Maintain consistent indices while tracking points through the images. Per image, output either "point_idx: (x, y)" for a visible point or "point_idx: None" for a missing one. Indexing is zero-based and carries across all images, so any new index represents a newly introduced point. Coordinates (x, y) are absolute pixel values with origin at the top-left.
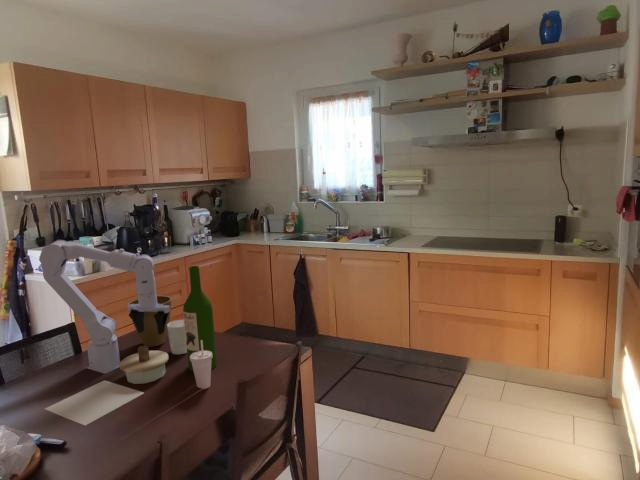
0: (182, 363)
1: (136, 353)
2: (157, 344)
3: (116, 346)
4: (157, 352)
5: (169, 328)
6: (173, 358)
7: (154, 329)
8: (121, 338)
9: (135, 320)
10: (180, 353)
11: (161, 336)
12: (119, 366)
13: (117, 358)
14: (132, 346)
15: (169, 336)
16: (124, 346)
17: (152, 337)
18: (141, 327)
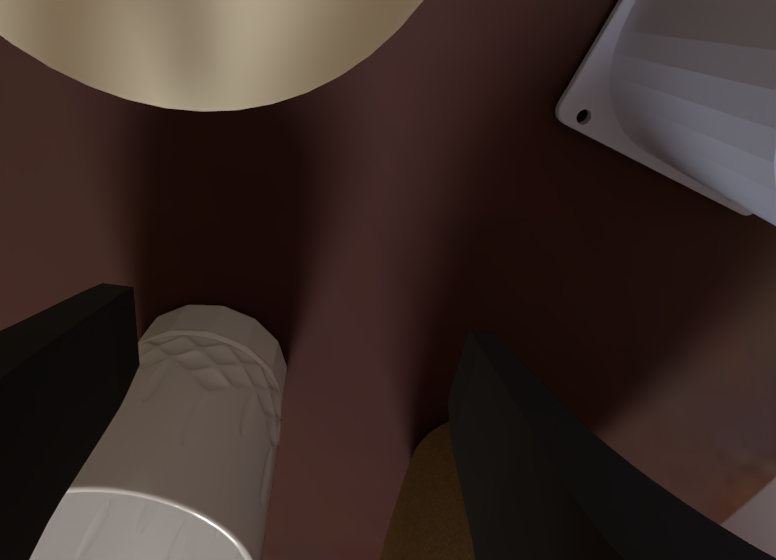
0: (46, 145)
1: (406, 13)
2: (435, 432)
3: (734, 92)
4: (127, 43)
5: (169, 482)
6: (194, 239)
7: (444, 524)
8: (727, 511)
9: (586, 483)
10: (177, 310)
11: (407, 486)
12: (600, 39)
13: (651, 60)
14: (617, 418)
15: (222, 415)
16: (675, 417)
17: None
18: (472, 415)
